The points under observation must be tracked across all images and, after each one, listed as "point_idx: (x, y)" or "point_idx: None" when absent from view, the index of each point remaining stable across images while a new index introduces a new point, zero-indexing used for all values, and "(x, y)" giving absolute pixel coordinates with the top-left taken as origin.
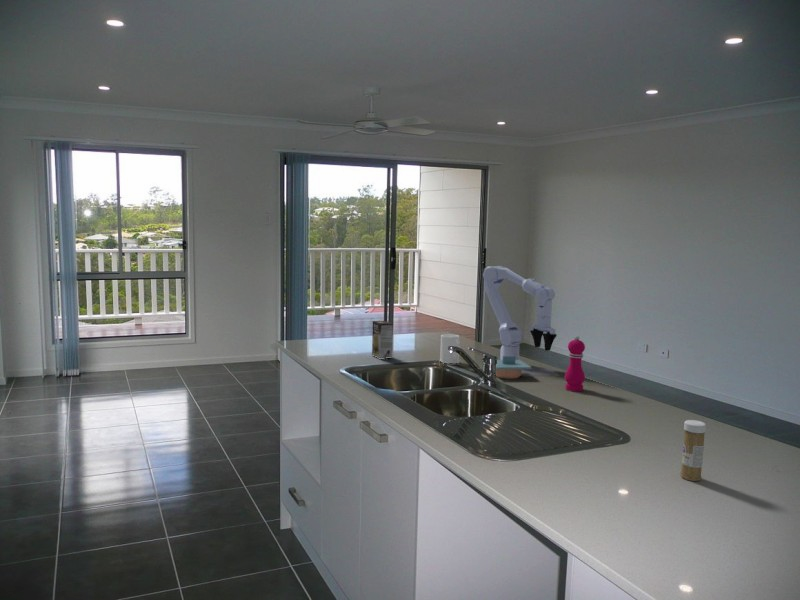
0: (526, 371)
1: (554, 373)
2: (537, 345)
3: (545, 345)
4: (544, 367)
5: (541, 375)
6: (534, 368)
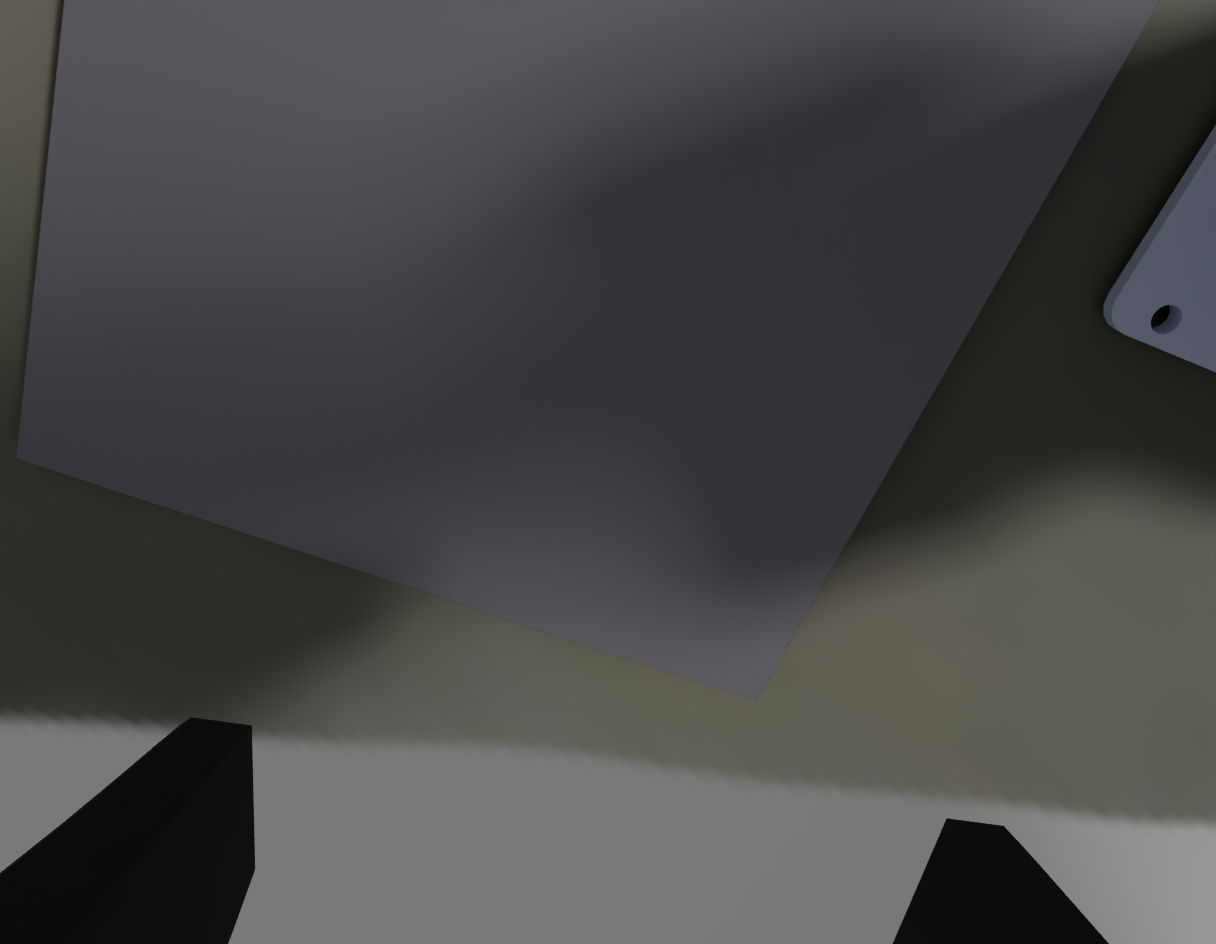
0: (610, 14)
1: (239, 489)
2: (945, 933)
3: (25, 861)
4: (757, 665)
5: (111, 73)
6: (784, 434)
